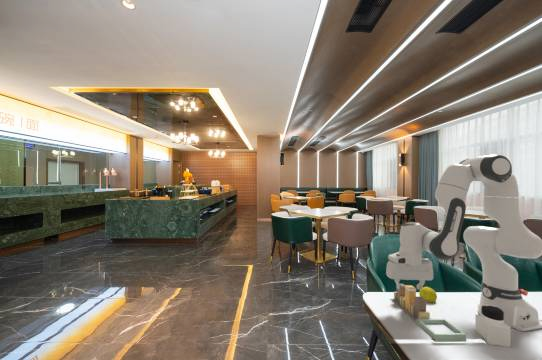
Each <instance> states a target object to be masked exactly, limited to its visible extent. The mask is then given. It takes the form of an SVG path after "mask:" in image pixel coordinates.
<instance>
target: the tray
mask: <svg viewBox="0 0 542 360" xmlns="http://www.w3.org/2000/svg"><path fill="white" fill-rule="evenodd" d="M415 323H416V324H418V325H419V326H420V327H421V328H422V329H424V330H425V331H426V332H427V333H428V334H429V335H430V336H432V338H431V340H432V341H434V342H435V343H436V342H437V343H438V342H439V343H440V342H441V343H446V342H447V343H448V342H449V343H451V342H453V343H454V342H458V343H460V342H461V343H463V342H464V343H465V342H467V334H466V333H465V332H464V331H462V330H461V329H460V328H458V327H457V326H455V325H454V324H453V323H451V322H450V321H449V320H447V319H446V318H431V319H417V320H416V322H415ZM427 324H441V325H442V324H444V325H446V326H447V327H448V328H450V329H451V330H452V331H454V332H455V333H454V332H440V333H439V332H434V331H433V330H432V329H431V328H430V327H429V326H427Z"/></svg>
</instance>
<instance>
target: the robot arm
mask: <svg viewBox="0 0 542 360" xmlns="http://www.w3.org/2000/svg"><path fill="white" fill-rule="evenodd" d="M512 172H513V167H512V163H511V161H510V159H509V158H508V157H506V156H504V155H503V154H489V155H479V156H475V157H472V158H466V159H463V160H461V161H460V162H459V163H454V164H451V165H449V166H447V168H446V169H445V171H444V172H443V174H442V175H441V176H440V179H439V181H438V184H437V186H436V189H435V194H434V197H435V200H436V203H438V204H439V205H441V207H442V208H443V209H444V219H443V221H442V226H441V229H440V231H439V232H437V231H434V230H432V229H429V228H427V227H426V226H424V225H422V224H421V223H420V222H417V221H410V222H409V221H408V222H407V221H406V222H404V223H402V225H401V226H400V230H399V243H400V246H399V248H398V249H399V250H398V251H397V252H394V253H391V254H390V253H389V254H388V256H387V257H388V258H387V259H388V261H387V263H386V267H385V271H386V272H385V275H386V276H387V277H388V278H389V279H391V280H394V282H395V284H396V290H397V289H402V285H400V284H401V283H400V281H401V280H402V281H403V280H407V281H408V280H409V281H410V280H411V281H419V282H418V283H417V284H416V290H419V291H420V290H422V288H423V287H424V285H425V284H426V281H433V280H434V270H433V269H434V268H433V262H432V260H430V258H422V257H423V256H422V255H423V251H426V252H427V253H429V254H432V255H433V256H434V257H436V258H437V259H439V260H441V261H442V260H443V261H449V260H452V259H454V258H456V256H458V254H459V252H460V236H461V232H462V228H463V223H464V219H465V215H466V211H467V210H466V208H467V207H466V198H467V195H468V193H469V190H470V189H469V188H470V186H471V184H472V183H473V182H481V183H482V184H483V186H484V189H483V214H485V216H487V217H488V218H489V219H492V220H494V221H496V222H497V223H498V224H499V227H500V228H499V227H498V228H497V227H491V226H484V225H475V226H474V225H472V226H468V227H466V228H465V230H464V232H463V235H462V236H463V241H464V242H465V243H466V245H467V246H468V247H469V248H470V249H472V250H473V251H474V252H475V254H476V255H477V256H478V257H477V258H478V259H479V260H480V263H481V269H482V280H481V284H480V287H481V293H480V300H479V304H478V305H477V308H478V309H477V313H478V315H481V314H482V305H492V306H495V307H498V308H499V309H501V310H502V311H503V312H504V323H505V324H507V325H508V326H509V327H510V328H512V329H516V330H518V331H521V332H527V331H533V330H539V329H542V319H540V318H539V312H538V310H537V309H536V307H534V306H533V305H532V304H530V303H529V302H528V301H526V300H525V299H524V298H523V296H527V297H528V295H529V293H528V291H527V290H524V289H523V288H521V289H519V273H518V271H517V269H516V267H514V266H513V265H512V264H511V263H508V262H507V261H505V260H504V259H503V258H502V256H501V255H505V256H509V257H513V258H520V259H534V260H535V259H538V258H540V257H542V238H541V237H540V236H539V235H537V234H535V233H534V232H532V230H530V229H529V228H528V227H527V226H526V224H524V222H523V220H522V218H521V214H520V206H519V205H520V197H519V195H520V193H519V185H518V182H517V181H518V180H517V177H516V176H515V175H513V174H512ZM522 295H523V296H522Z"/></svg>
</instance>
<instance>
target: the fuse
mask: <svg viewBox="0 0 542 360" xmlns="http://www.w3.org/2000/svg"><path fill="white" fill-rule="evenodd" d="M404 285H405V308H406V309H407V310H409V303H414V300H415V297H417V287H415V286H413V285H412V284H411V285H410V284H409V285H408V284H407V285H406V284H404Z"/></svg>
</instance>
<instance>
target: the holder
mask: <svg viewBox="0 0 542 360" xmlns="http://www.w3.org/2000/svg"><path fill="white" fill-rule="evenodd" d="M399 284H400V285H402V289H397V288H396V291H394V292H393V298H389V300H390V301H392V303H394V304H395V305H396V306H397V307H398V308H399V309H401V310H402V311H403V312H404V313H405V314H406V315H407V316H408V317H409V318H411V319H412V320H413V321H414V322H415V323H417V322H416V320H417V319H432V318H431V316H430V315H431V313H430V312H429V311H427V301H426V300H425V299H424V298H423V297H420V296H416V297H415V300H414V303H409V310H407V309H406V308H405V285H406V284H404V283H399Z"/></svg>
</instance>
